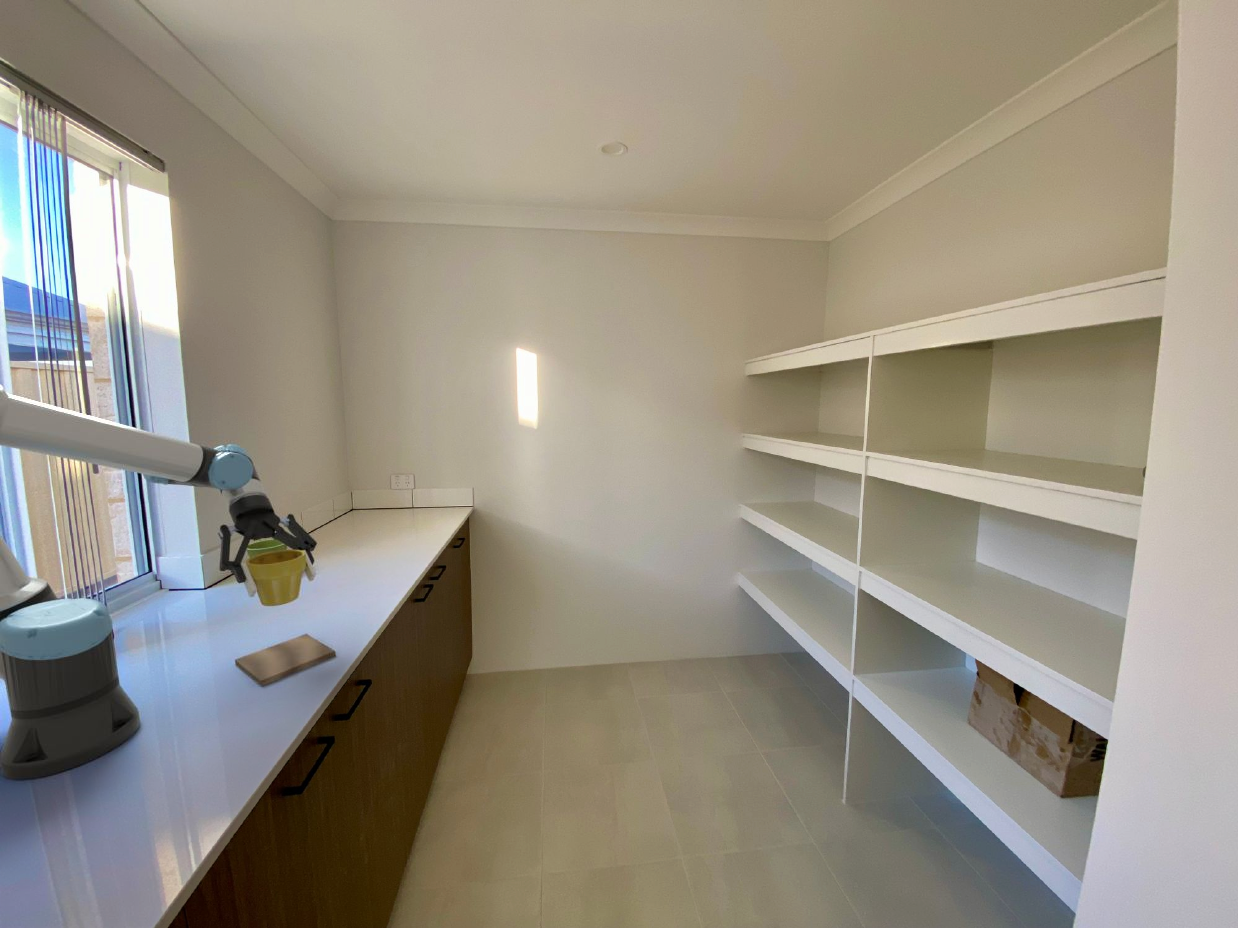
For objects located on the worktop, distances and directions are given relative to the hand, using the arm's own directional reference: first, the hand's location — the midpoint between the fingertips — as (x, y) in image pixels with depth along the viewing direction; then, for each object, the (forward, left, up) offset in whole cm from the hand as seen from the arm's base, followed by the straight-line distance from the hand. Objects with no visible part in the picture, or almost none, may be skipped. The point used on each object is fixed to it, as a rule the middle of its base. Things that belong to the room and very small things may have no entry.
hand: (284, 585), depth 101 cm
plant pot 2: (0, +3, -4) cm, 5 cm away
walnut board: (0, +3, -18) cm, 18 cm away
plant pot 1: (+19, +65, -18) cm, 70 cm away
